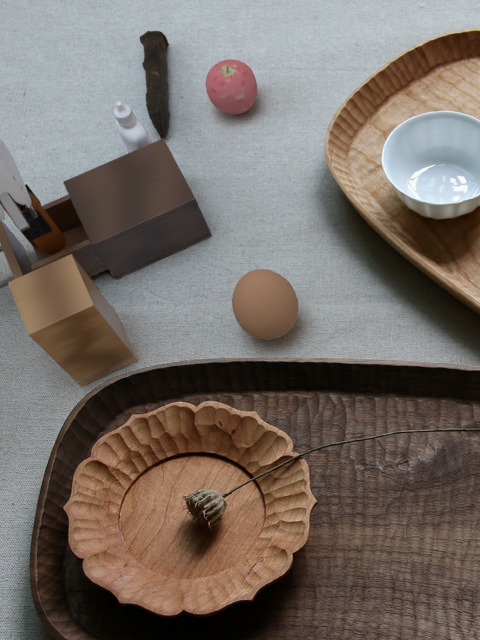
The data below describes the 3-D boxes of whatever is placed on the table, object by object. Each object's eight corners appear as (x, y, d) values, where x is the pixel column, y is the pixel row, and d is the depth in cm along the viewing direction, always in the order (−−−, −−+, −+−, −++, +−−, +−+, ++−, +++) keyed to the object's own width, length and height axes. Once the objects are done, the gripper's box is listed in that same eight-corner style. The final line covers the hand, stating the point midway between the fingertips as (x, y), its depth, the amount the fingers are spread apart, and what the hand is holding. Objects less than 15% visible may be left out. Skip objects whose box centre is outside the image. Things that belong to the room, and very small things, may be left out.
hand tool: (145, 50, 129) (135, 27, 124) (170, 47, 129) (161, 23, 124) (146, 145, 121) (134, 123, 117) (172, 142, 121) (162, 120, 117)
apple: (264, 86, 125) (253, 45, 117) (260, 124, 122) (248, 85, 114) (217, 87, 125) (203, 46, 118) (211, 125, 122) (196, 85, 115)
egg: (232, 316, 109) (210, 271, 99) (286, 287, 111) (270, 241, 100) (259, 363, 106) (240, 322, 96) (315, 333, 108) (302, 290, 97)
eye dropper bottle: (161, 144, 121) (133, 85, 110) (164, 174, 119) (136, 116, 108) (132, 150, 121) (101, 90, 110) (134, 179, 119) (103, 122, 108)
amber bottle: (44, 259, 108) (5, 212, 99) (36, 239, 110) (-4, 191, 100) (69, 247, 109) (33, 199, 99) (61, 227, 110) (24, 179, 100)
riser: (81, 387, 106) (28, 335, 92) (62, 339, 109) (7, 282, 95) (138, 360, 107) (93, 304, 94) (117, 314, 110) (71, 253, 96)
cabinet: (116, 280, 112) (91, 245, 104) (88, 219, 117) (62, 181, 109) (212, 236, 115) (195, 198, 107) (181, 177, 119) (163, 137, 111)
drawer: (4, 322, 110) (-22, 297, 103) (-18, 265, 113) (-44, 237, 107) (131, 264, 112) (112, 236, 106) (105, 210, 116) (86, 180, 110)
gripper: (-97, 85, 90) (-11, 188, 107) (-57, 192, 84) (27, 283, 101) (-32, 59, 91) (42, 164, 108) (12, 163, 85) (83, 257, 102)
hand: (34, 221), depth 104 cm, fingers closed on amber bottle, 3 cm apart
